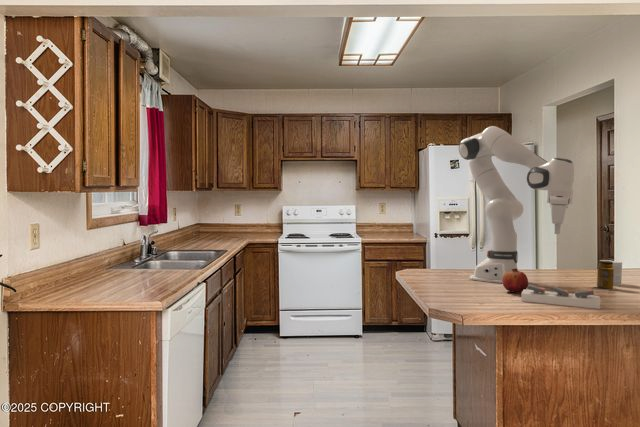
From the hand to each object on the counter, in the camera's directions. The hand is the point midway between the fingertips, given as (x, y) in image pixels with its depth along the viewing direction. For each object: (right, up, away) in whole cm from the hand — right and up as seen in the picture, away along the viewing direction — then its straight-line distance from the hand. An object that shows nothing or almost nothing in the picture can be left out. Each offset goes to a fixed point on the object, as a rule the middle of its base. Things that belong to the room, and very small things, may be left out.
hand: (557, 233), depth 190 cm
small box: (+38, -24, +29) cm, 54 cm away
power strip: (-4, -25, -10) cm, 28 cm away
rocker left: (-11, -21, -7) cm, 25 cm away
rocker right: (+3, -21, -15) cm, 26 cm away
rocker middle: (-4, -21, -11) cm, 24 cm away
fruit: (-13, -25, +9) cm, 30 cm away
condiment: (+29, -25, +18) cm, 42 cm away
